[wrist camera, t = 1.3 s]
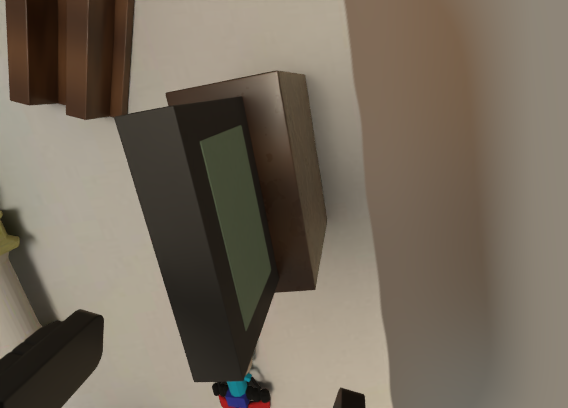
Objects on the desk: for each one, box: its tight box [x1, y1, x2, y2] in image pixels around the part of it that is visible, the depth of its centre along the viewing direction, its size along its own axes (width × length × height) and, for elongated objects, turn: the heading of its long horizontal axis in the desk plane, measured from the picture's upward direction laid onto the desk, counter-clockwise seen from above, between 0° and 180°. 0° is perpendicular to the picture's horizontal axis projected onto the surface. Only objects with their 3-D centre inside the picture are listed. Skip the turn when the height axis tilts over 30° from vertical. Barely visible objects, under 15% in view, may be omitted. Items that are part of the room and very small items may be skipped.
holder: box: [5, 0, 134, 120], centre depth 32 cm, size 16×10×4 cm, turn 168°
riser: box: [166, 71, 327, 293], centre depth 29 cm, size 14×7×13 cm, turn 10°
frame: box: [114, 96, 279, 382], centre depth 19 cm, size 12×2×9 cm, turn 10°
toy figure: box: [212, 358, 270, 408], centre depth 42 cm, size 8×5×15 cm
